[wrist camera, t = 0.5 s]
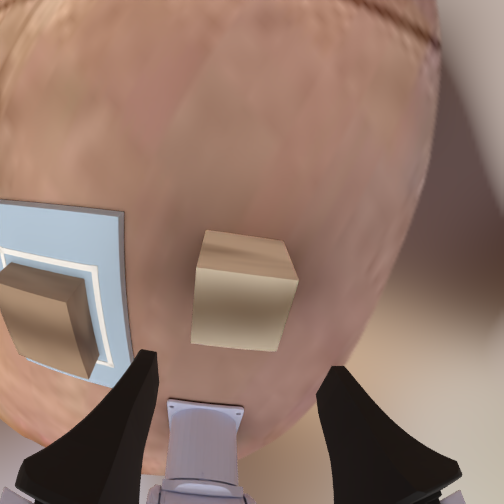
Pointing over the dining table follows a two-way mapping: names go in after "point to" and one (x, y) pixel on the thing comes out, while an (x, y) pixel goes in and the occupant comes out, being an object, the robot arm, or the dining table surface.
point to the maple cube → (242, 292)
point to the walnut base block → (49, 318)
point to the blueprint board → (77, 268)
